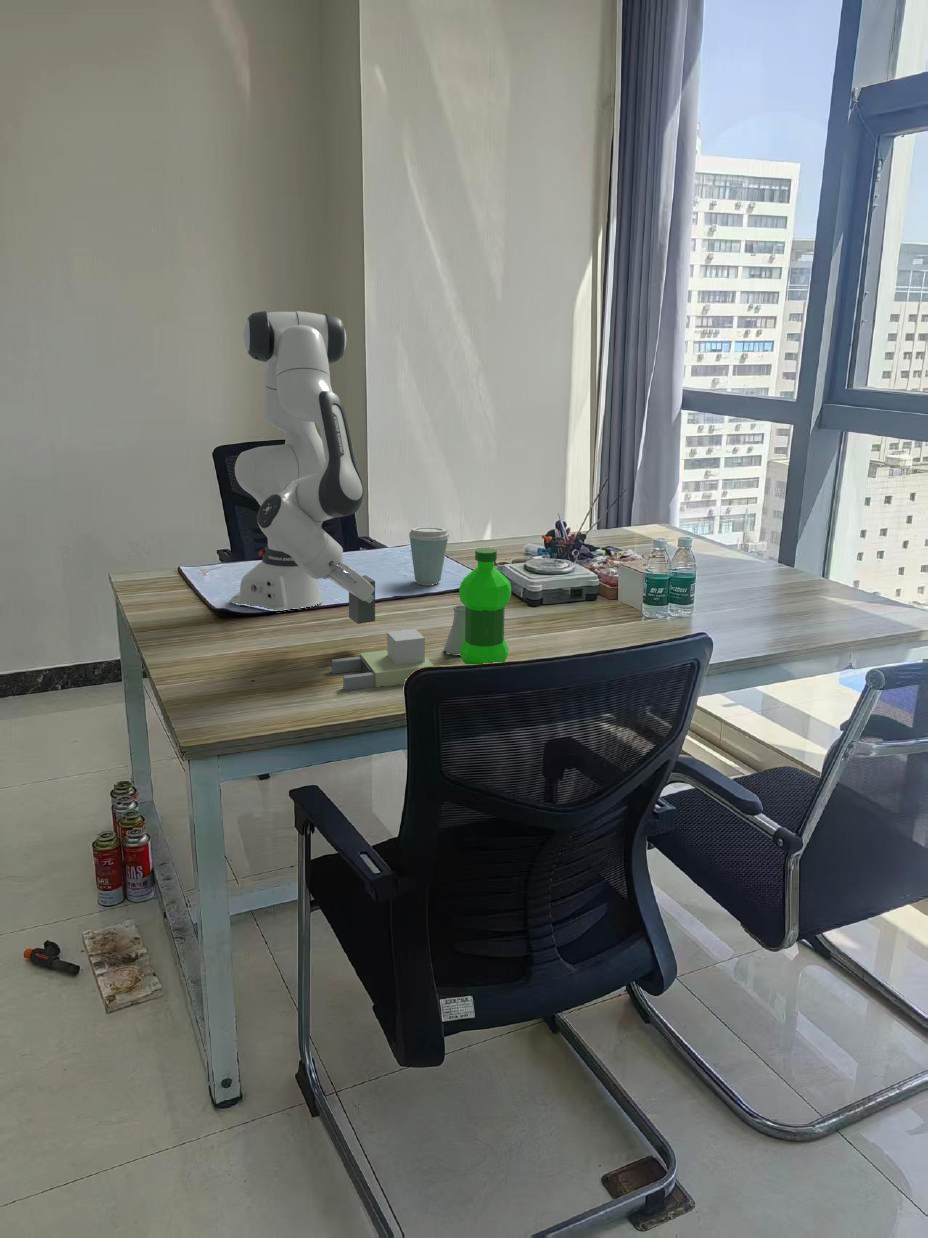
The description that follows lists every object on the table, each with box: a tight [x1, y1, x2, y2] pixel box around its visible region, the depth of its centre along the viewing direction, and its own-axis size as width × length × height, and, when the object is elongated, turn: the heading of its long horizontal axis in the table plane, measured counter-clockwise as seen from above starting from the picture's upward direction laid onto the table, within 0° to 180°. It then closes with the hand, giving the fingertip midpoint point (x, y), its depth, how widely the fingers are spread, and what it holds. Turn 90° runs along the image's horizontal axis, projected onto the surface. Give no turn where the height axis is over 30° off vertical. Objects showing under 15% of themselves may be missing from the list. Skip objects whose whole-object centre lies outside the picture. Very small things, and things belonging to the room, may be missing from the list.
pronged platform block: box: [331, 628, 435, 691], centre depth 196 cm, size 18×12×8 cm, turn 111°
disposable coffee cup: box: [408, 526, 450, 586], centre depth 261 cm, size 11×11×15 cm
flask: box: [443, 604, 466, 654], centre depth 210 cm, size 7×7×10 cm
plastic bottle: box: [458, 547, 512, 665], centre depth 197 cm, size 10×10×25 cm
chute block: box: [348, 575, 376, 625], centre depth 210 cm, size 4×4×9 cm
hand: (364, 595), depth 210 cm, fingers closed on chute block, 4 cm apart
